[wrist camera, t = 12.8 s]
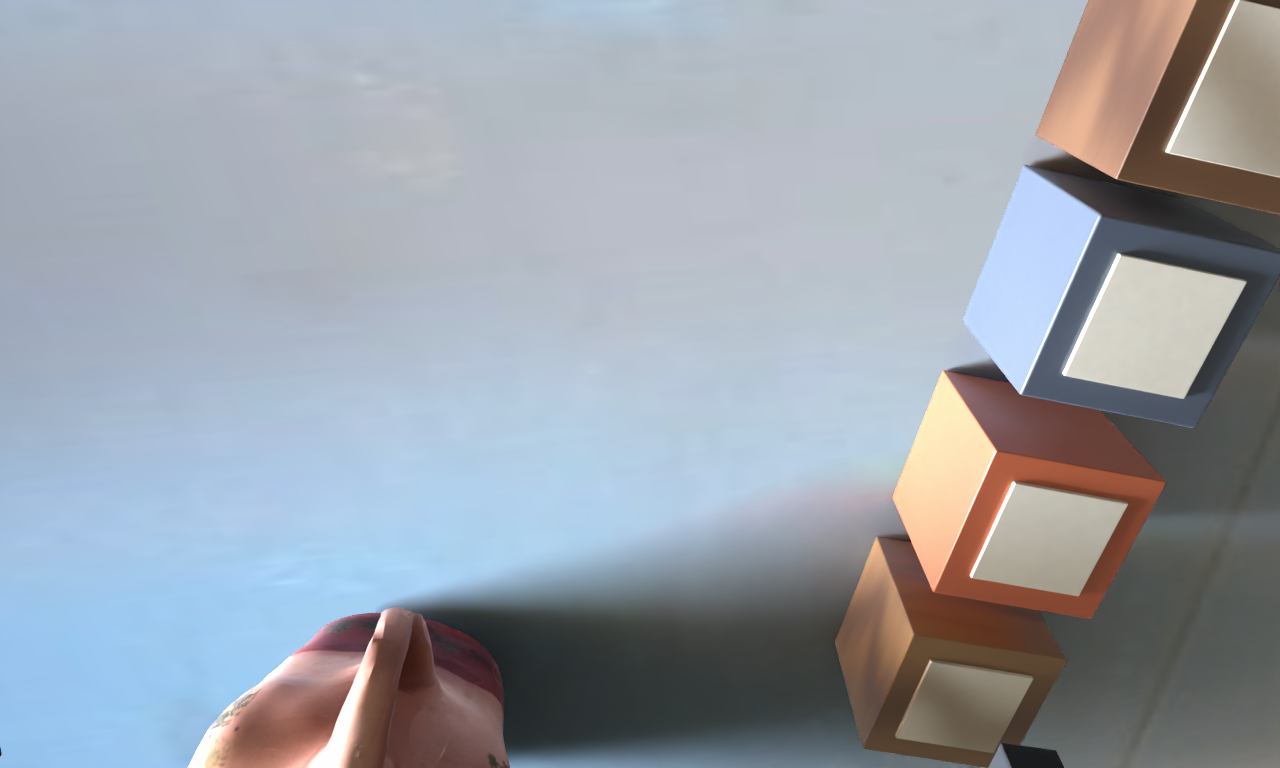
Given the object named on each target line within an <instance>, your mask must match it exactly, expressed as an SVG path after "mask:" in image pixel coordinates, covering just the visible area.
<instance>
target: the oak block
mask: <svg viewBox="0 0 1280 768" xmlns="http://www.w3.org/2000/svg"><path fill="white" fill-rule="evenodd" d="M835 645H836V649H837V652H838V656H839V660H840V664H841V668H842V672H843V675H844V679H845V683H846V687H847V691H848V694H849V698H850V702H851V706H852V710H853V713H854V717H855V721H856V725H857V729H858V732H859V736H860V740H861V744H862V748H863V749H868V750H875V751H881V752H888V753H894V754H901V755H907V756H914V757H920V758H927V759H933V760H940V761H946V762H953V763H959V764H966V765H972V766H979V767H985V768H988V767H989V765H990V763H991V761H992V759H993V758H994V756H995V754H996V752H997V750H998V748H999V746H1000V744H1001V743H1006V744H1013V745H1021V743H1022V741H1023V739H1024V738H1025V736H1026V734H1027V732H1028V730H1029V729H1030V727H1031V725H1032V723H1033V721H1034V720H1035V718H1036V716H1037V714H1038V712H1039V711H1040V709H1041V707H1042V705H1043V703H1044V702H1045V700H1046V698H1047V696H1048V694H1049V692H1050V691H1051V689H1052V687H1053V685H1054V683H1055V682H1056V680H1057V678H1058V676H1059V674H1060V673H1061V671H1062V669H1063V667H1064V665H1065V664H1066V662H1067V659H1066V657H1065V655H1064V653H1063V652H1062V650H1061V648H1060V646H1059V645H1058V643H1057V641H1056V639H1055V638H1054V636H1053V634H1052V632H1051V631H1050V629H1049V627H1048V625H1047V624H1046V622H1045V620H1044V618H1043V617H1042V615H1041V613H1040V611H1039V610H1034V609H1028V608H1023V607H1017V606H1011V605H1005V604H999V603H993V602H987V601H981V600H975V599H969V598H964V597H958V596H952V595H946V594H940V593H934V592H933V591H932V588H931V586H930V584H929V581H928V579H927V577H926V574H925V572H924V570H923V567H922V565H921V563H920V560H919V558H918V556H917V553H916V551H915V549H914V546H913V544H912V542H907V541H901V540H895V539H889V538H884V537H878V536H877V537H876V539H875V541H874V544H873V546H872V549H871V551H870V554H869V556H868V559H867V562H866V564H865V567H864V569H863V572H862V574H861V577H860V579H859V582H858V584H857V587H856V589H855V592H854V594H853V597H852V599H851V602H850V604H849V607H848V610H847V612H846V615H845V617H844V620H843V622H842V625H841V627H840V630H839V632H838V635H837V637H836V640H835Z"/></svg>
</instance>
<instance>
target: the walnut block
mask: <svg viewBox="0 0 1280 768" xmlns="http://www.w3.org/2000/svg"><path fill="white" fill-rule="evenodd" d="M1036 136H1038V137H1040V138H1042V139H1043V140H1045V141H1047V142H1049V143H1051V144H1053V145H1054V146H1056V147H1058V148H1060V149H1062V150H1064V151H1065V152H1067V153H1069V154H1071V155H1073V156H1074V157H1076V158H1078V159H1080V160H1082V161H1084V162H1085V163H1087V164H1089V165H1091V166H1093V167H1095V168H1096V169H1098V170H1100V171H1102V172H1104V173H1106V174H1107V175H1109V176H1111V177H1113V178H1115V179H1117V180H1121V181H1126V182H1130V183H1135V184H1139V185H1144V186H1149V187H1153V188H1158V189H1163V190H1167V191H1172V192H1177V193H1181V194H1186V195H1190V196H1195V197H1200V198H1204V199H1209V200H1214V201H1218V202H1223V203H1228V204H1232V205H1237V206H1241V207H1246V208H1251V209H1255V210H1260V211H1265V212H1269V213H1274V214H1279V215H1280V0H1088V3H1087V6H1086V8H1085V11H1084V13H1083V16H1082V18H1081V21H1080V23H1079V26H1078V28H1077V31H1076V33H1075V36H1074V38H1073V41H1072V43H1071V46H1070V48H1069V51H1068V54H1067V56H1066V59H1065V61H1064V64H1063V66H1062V69H1061V71H1060V74H1059V76H1058V79H1057V81H1056V84H1055V86H1054V89H1053V91H1052V94H1051V96H1050V99H1049V102H1048V104H1047V107H1046V109H1045V112H1044V114H1043V117H1042V119H1041V122H1040V124H1039V127H1038V129H1037V132H1036Z"/></svg>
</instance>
